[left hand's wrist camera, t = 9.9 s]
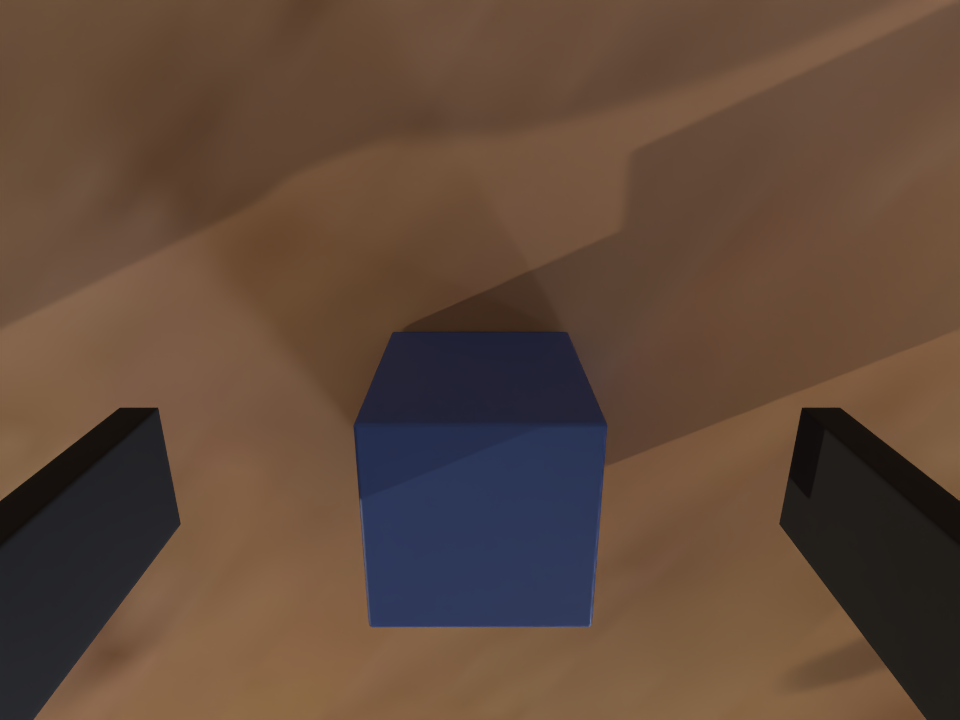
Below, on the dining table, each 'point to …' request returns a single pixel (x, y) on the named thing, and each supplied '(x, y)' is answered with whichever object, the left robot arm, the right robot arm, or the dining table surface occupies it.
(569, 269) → the dining table surface
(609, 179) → the dining table surface
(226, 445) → the dining table surface
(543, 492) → the cube
